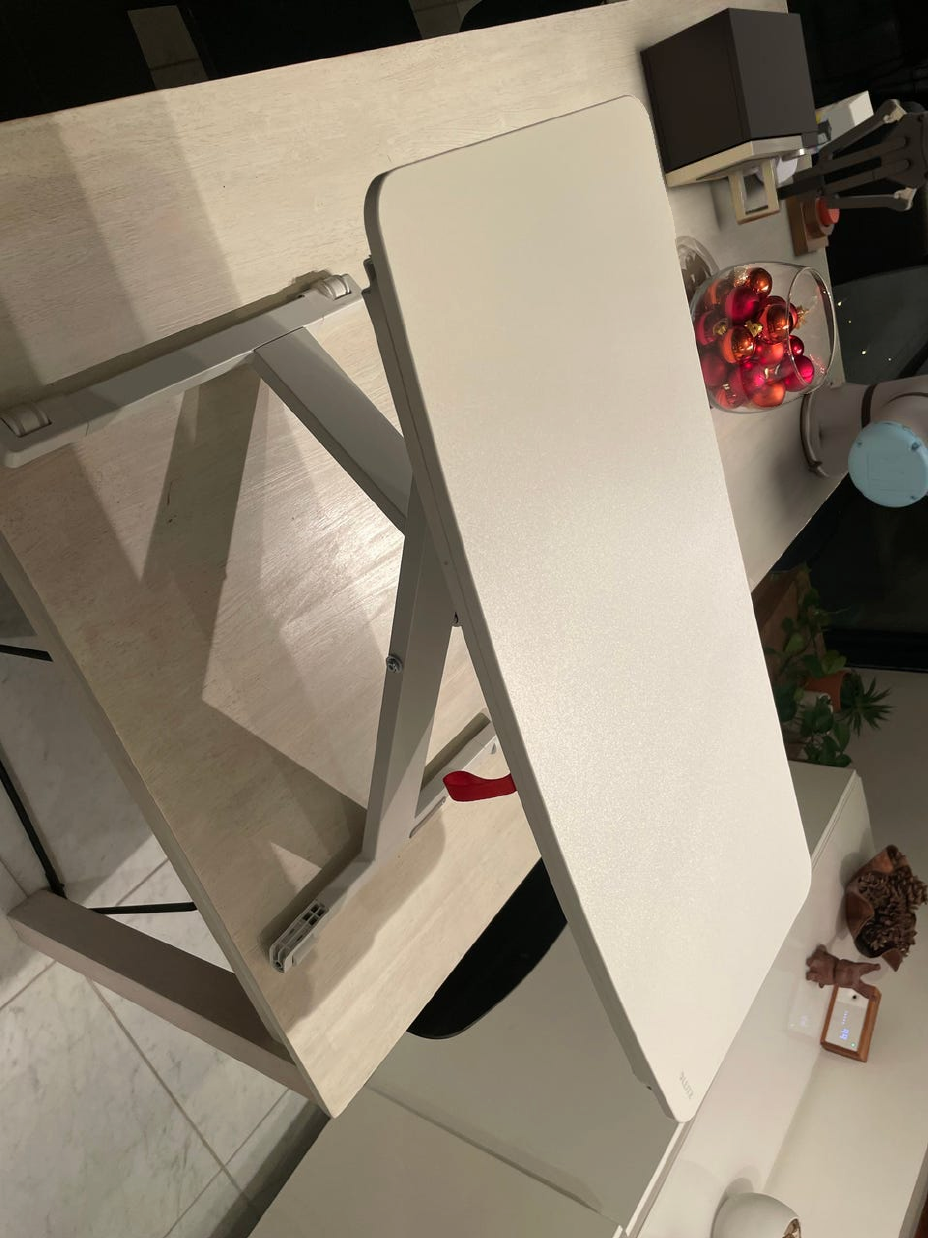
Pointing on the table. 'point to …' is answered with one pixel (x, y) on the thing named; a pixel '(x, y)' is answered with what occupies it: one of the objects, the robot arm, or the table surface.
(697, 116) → the box
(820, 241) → the box
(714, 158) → the door
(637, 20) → the table surface
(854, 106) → the ink box
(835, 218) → the button
